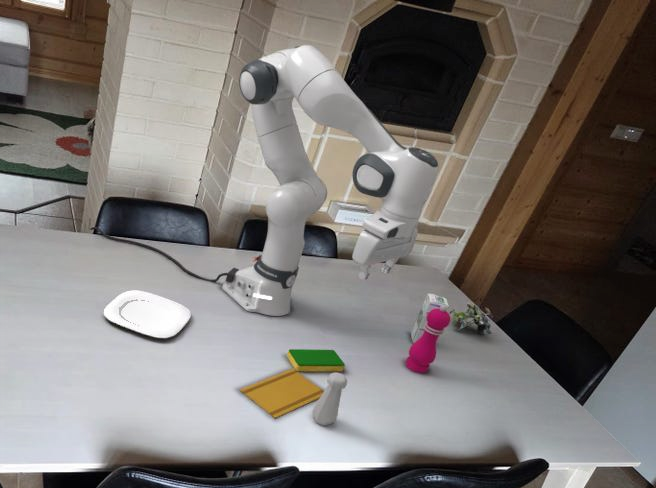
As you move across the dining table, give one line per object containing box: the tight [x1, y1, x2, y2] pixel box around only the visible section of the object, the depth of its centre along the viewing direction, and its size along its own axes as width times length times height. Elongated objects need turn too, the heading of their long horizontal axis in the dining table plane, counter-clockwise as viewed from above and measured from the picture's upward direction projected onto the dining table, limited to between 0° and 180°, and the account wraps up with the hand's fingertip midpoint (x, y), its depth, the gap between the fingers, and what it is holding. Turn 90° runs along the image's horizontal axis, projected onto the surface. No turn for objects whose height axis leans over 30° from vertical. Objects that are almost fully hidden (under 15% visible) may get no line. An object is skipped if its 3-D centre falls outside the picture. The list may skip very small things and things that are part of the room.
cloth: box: [239, 368, 325, 419], centre depth 160 cm, size 12×20×1 cm, turn 130°
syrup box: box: [410, 292, 450, 344], centre depth 192 cm, size 6×6×14 cm
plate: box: [103, 289, 192, 340], centre depth 178 cm, size 22×22×2 cm
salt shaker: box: [312, 372, 348, 427], centre depth 150 cm, size 6×6×13 cm
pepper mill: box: [405, 305, 451, 374], centre depth 177 cm, size 7×7×20 cm
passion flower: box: [449, 301, 493, 336], centre depth 205 cm, size 11×11×12 cm
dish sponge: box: [286, 348, 346, 372], centre depth 173 cm, size 7×14×2 cm, turn 104°
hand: (373, 275), depth 155 cm, fingers open, 8 cm apart
